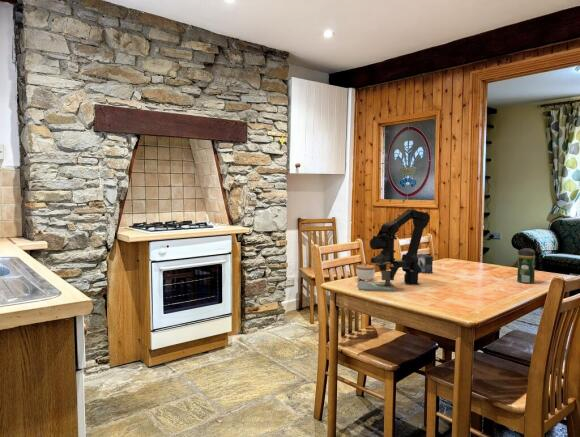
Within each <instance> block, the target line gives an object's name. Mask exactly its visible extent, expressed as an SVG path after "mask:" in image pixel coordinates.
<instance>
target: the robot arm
mask: <svg viewBox="0 0 580 437" xmlns="http://www.w3.org/2000/svg"><path fill="white" fill-rule="evenodd" d="M430 219H431V216H430V214H429V212H426V211H425V212H424V211H423V212H422V211H419V210H417V209H413V208H408V209H406V210H405V211H404V212H403V213H402V214H401V215H399V216H398V217H397V218H395V219H394V220H391V221H387V222H385V223H383V224H382V225H380V229H379V230H378V233H377V234H376V235H373V236H372V238H371V240H370V242H369V247H370V248H371V250H374V251H375V250H380V253H379V254H377V255H375V256H372V257H371V259H370V263H371V264H375V265H376V266H377V267H378V268H379V271H380V274H381V275H382V270H387V266H388V265H391V266H389V270H391V280H390V281H393V280H392V279H393V278H394V279H395V276H396V274H397V272H398V270H399V268H401V269H402V272H404V275H403V276H404V277H403V283H405V285H415V286H416V285H419V284H420V283H419V274H422V273H421V270H422V269H421V268H420V266H419V265H418V257H417V254H418V251H419V248H420V244H421V240H422V236H423V232H424V230H425V228H426V227H427V226H428V225H429V223H430ZM410 220H412V225H413V229H412V234H411V238H410V240H409V241H410V242H409V246H408V248H407V249H408V250H407V252H406V253H404V254H402V256H401V259H397V260H396V258H395V254H396V252H397V251H396V250H395V240H398V238H397V236H395V235H396V234H397V233H398V232H399V230H400V228H401V227H402V226H404V225H405V224H406V223H408V222H409V221H410Z"/></svg>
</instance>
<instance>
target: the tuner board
mask: <svg viewBox="0 0 580 437" xmlns="http://www.w3.org/2000/svg"><path fill="white" fill-rule="evenodd" d="M392 282H393V281H390V283H391V284H392V285H391V286H386V285H384V284H368V283H385V281H372V280H370V281H362V280H359V281H356V283H358V284H357V287H359V288H358V291H359V290H364V291H363V292H366V291H367V292H394V293H395V292H397V288H396V287H395V286H394V284H393V283H392Z"/></svg>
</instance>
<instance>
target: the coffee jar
mask: <svg viewBox="0 0 580 437" xmlns="http://www.w3.org/2000/svg"><path fill="white" fill-rule="evenodd" d="M535 261H536V251H535V250H534V249H533V248H530V247H529V248H527V247H524V248H522V249H520V250H518V251H517V274H516V275H517V277H516V279H517V280H516V281H517V282H518V283H523V284H533V283H534V282H535V274H536V273H535V270H536V268H535V267H536V262H535Z"/></svg>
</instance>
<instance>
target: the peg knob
mask: <svg viewBox="0 0 580 437" xmlns="http://www.w3.org/2000/svg"><path fill="white" fill-rule="evenodd" d="M381 280H382V281H384V282H385V283H368V284H384V285H386V286H391V285H392V284H393V283H392V284H391V283H390V282H391V281H395V277H394V278H393V279H392V280H391V269H388V270H387V269H386V270H382V274H381Z"/></svg>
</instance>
